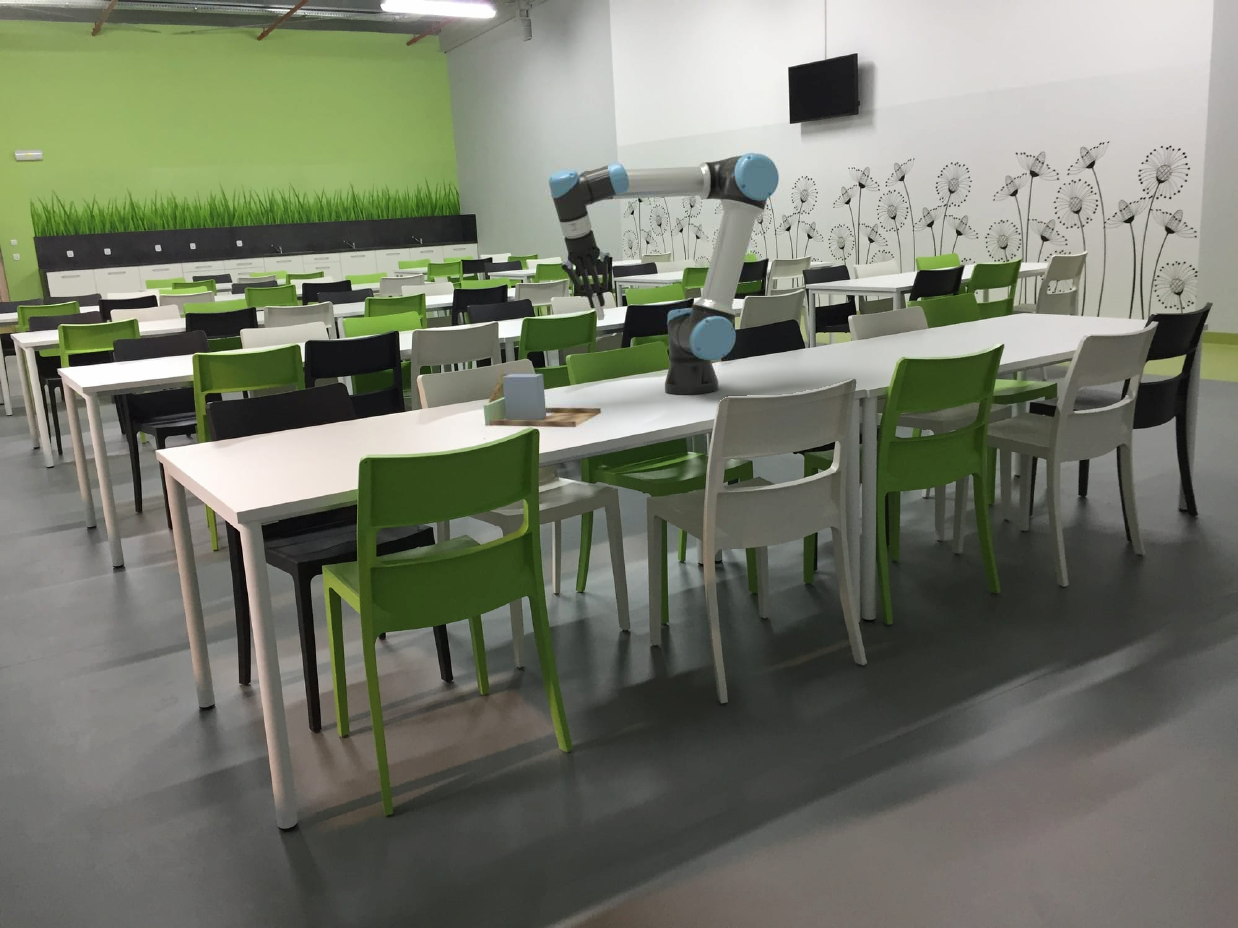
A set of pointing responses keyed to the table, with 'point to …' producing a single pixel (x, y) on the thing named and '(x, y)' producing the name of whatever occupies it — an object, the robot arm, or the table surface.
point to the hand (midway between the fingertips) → (601, 317)
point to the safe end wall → (495, 410)
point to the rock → (498, 390)
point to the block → (524, 397)
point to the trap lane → (554, 418)
